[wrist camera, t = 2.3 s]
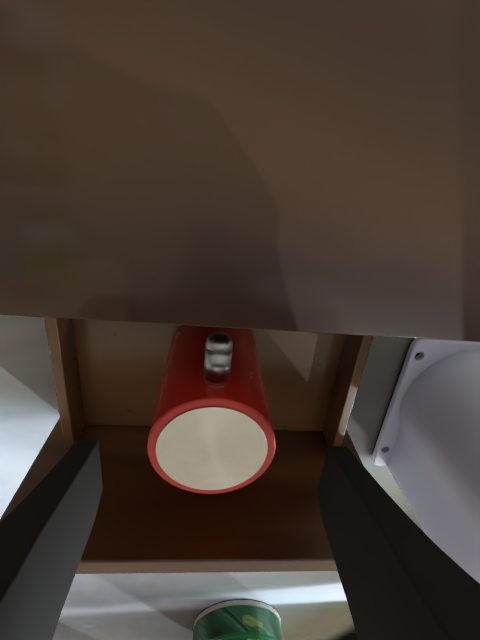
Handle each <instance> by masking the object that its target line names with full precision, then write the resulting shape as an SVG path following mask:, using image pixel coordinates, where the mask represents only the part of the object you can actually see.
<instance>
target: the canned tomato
mask: <svg viewBox="0 0 480 640" xmlns="http://www.w3.org/2000/svg"><path fill="white" fill-rule="evenodd" d="M193 632H194V637H193V640H283V638H282V631H281V619H280V616H279V614H278V612H277V611H276V610H275V609H274V608H272V607H271V606H269V605H267V604H265V603H262V602H258V601H253V600H232V601H226V602H221V603H218V604H215V605H213V606H211V607H209V608H207V609H205V610H204V611H203V612H201V613H200V614H199V615H198V616H197V618H196V619H195V621H194V625H193Z"/></svg>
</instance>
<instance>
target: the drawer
mask: <svg viewBox="0 0 480 640" xmlns="http://www.w3.org/2000/svg"><path fill="white" fill-rule="evenodd" d="M44 318H45V325H46V331H47V337H48V344H49V350H50V357H51V363H52V369H53V376H54V382H55V389H56V395H57V401H58V408H59V414H60V418H59V420H58V421H57V423H56V425H55V427H54V428H53V430H52V432H51V433H50V435H49V437H48V439H47V440H46V442H45V444H44V445H43V447H42V449H41V450H40V452H39V454H38V456H37V457H36V459H35V461H34V462H33V464H32V466H31V468H30V469H29V471H28V473H27V474H26V476H25V478H24V479H23V481H22V483H21V485H20V486H19V488H18V490H17V491H16V493H15V495H14V497H13V498H12V500H11V502H10V503H9V505H8V507H7V508H6V510H5V512H4V514H3V515H2V517H1V519H0V521H1V520H2V519H3V518H4V517H5V516H6V515H7V514H8V513H9V512H10V511H11V510H12V509H14V508H15V506H16V505H17V504H18V503H19V502H20V501H21V500H22V499H23V498H24V497H25V496H26V495H27V494H28V493H29V492H30V491H31V490H32V489H33V488H34V487H35V486H36V485H37V483H38V482H39V481H40V480H41V479H42V478H43V477H44V476H45V475H46V474H47V473H48V472H49V470H50V469H51V468H52V467H53V466H54V465H55V464H56V463H57V461H58V460H59V459H60V458H61V457H62V456H63V455H64V453H65V452H66V451H67V450H68V449H69V448H70V447H71V445H72V444H73V443H74V442H75V441H77V440H98V442H99V453H100V463H101V473H102V483H103V489H102V493H101V497H100V501H99V506H98V509H97V513H96V517H95V521H94V524H93V527H92V530H91V533H90V535H89V538H88V541H87V543H86V546H85V549H84V552H83V554H82V557H81V560H80V562H79V565H78V568H77V570H76V573H75V574H100V573H186V572H273V571H338V570H337V567H336V564H335V561H334V558H333V554H332V551H331V548H330V545H329V542H328V539H327V535H326V532H325V529H324V526H323V522H322V517H321V512H320V508H319V502H318V497H317V492H316V489H317V485H318V482H319V478H320V474H321V471H322V467H323V463H324V460H325V456H326V452H327V449H328V446H347V448H348V449H349V450H350V451H351V452H352V453H353V455H354V456H355V457H356V458H357V459H358V460H359V462H360V463H361V464H362V462H361V460H360V458H359V456H358V453H357V451H356V449H355V447H354V445H353V443H352V441H351V439H350V436H349V434H348V432H347V430H346V428H347V425H348V421H349V418H350V414H351V411H352V407H353V404H354V401H355V397H356V394H357V390H358V387H359V383H360V380H361V377H362V373H363V370H364V366H365V363H366V359H367V356H368V353H369V349H370V346H371V342H372V339H373V336H366V335H349V334H331V333H314V332H296V331H279V330H261V329H248V330H249V331H250V332H251V334H252V336H253V338H254V340H255V344H256V348H257V353H258V357H259V362H260V367H261V372H262V376H263V381H264V386H265V391H266V395H267V400H268V405H269V410H270V414H271V419H272V424H273V429H274V434H275V439H276V448H275V453H274V457H273V459H272V461H271V463H270V465H269V467H268V468H267V469H266V471H265V472H264V473H263V474H262V475H261V476H260V477H259V478H257V479H256V480H255V481H253V482H252V483H250V484H248V485H246V486H244V487H242V488H239V489H237V490H233V491H230V492H225V493H218V494H201V493H194V492H190V491H186V490H183V489H180V488H178V487H176V486H174V485H172V484H170V483H168V482H167V481H166V480H164V479H163V478H162V477H161V476H160V475H159V474H158V473H157V472H156V471H155V469H154V468H153V466H152V464H151V462H150V460H149V456H148V452H147V441H148V437H149V432H150V428H151V424H152V419H153V415H154V411H155V407H156V402H157V398H158V394H159V390H160V385H161V381H162V377H163V373H164V368H165V364H166V360H167V356H168V351H169V347H170V343H171V340H172V337H173V336H174V334H175V332H176V331H177V330H178V328H179V327H180V326H182V325H174V324H156V323H139V322H121V321H104V320H86V319H69V318H52V317H44ZM362 465H363V464H362Z"/></svg>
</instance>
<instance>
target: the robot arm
mask: <svg viewBox="0 0 480 640" xmlns="http://www.w3.org/2000/svg"><path fill="white" fill-rule="evenodd" d="M417 353H420V354H419V355H418V356H416V357H415V355H416V354H417ZM383 447H384V448H383ZM372 461H373V463H374V464H375V465H377V466H388V468H389V469H390V471H391V473H392V475H393V477H394V478H395V480H396V482H397V484H398V486H399V488H400V489H401V491H402V493H403V495H404V497H405V498H406V500H407V502H408V504H409V506H410V508H411V509H412V511H413V513H414V515H415V517H416V518H417V520H418V522H419V524H420V526H421V528H422V529H423V531H424V532H423V531H422V530H421V529H420V528H419V527H418V526H417V525H416V524H415V523H414V522H413V521H412V520H411V519H410V518H409V517H408V516H407V515H406V514H405V513H404V512H403V510H402V509H401V508H400V507H399V506H398V505H397V504H396V503H395V502H394V501H393V499H392V498H391V497H390V496H389V495H388V494H387V493H386V492H385V491H384V489H383V488H382V487H381V486H380V485H379V484H378V483H377V481H376V480H375V479H374V478H373V477H372V476H371V474H370V473H369V472H368V471H367V470H366V469H365V467H364V466H363V465H362V464H361V463H360V462H359V460H358V459H357V458H356V457H355V456H354V455H353V453H352V452H351V451H350V450H349V449H348V448H347V446H328V449H327V452H326V456H325V460H324V463H323V467H322V471H321V474H320V478H319V482H318V485H317V489H316V492H317V497H318V502H319V508H320V512H321V517H322V522H323V526H324V529H325V532H326V535H327V539H328V542H329V545H330V548H331V551H332V554H333V558H334V561H335V564H336V567H337V570H338V573H339V576H340V579H341V583H342V586H343V589H344V592H345V595H346V598H347V601H348V605H349V608H350V612H351V615H352V619H353V622H354V626H355V631H356V635H357V639H358V640H480V342H471V341H454V340H436V339H419V338H417V339H415V340H414V341H413V342H412V343H411V345H410V348H409V351H408V354H407V356H406V359H405V362H404V365H403V368H402V371H401V374H400V377H399V379H398V382H397V385H396V388H395V391H394V394H393V397H392V400H391V403H390V405H389V408H388V411H387V414H386V417H385V420H384V423H383V426H382V428H381V431H380V434H379V437H378V440H377V443H376V446H375V449H374V452H373V454H372ZM102 489H103V483H102V473H101V463H100V453H99V442H98V440H77V441H75V442H74V443H73V444H72V445H71V447H70V448H69V449H68V450H67V451H66V452H65V453H64V455H63V456H62V457H61V458H60V459H59V460H58V461H57V463H56V464H55V465H54V466H53V467H52V468H51V469H50V470H49V472H48V473H47V474H46V475H45V476H44V477H43V478H42V479H41V480H40V481H39V482H38V483H37V485H36V486H35V487H34V488H33V489H32V490H31V491H30V492H29V493H28V494H27V495H26V496H25V497H24V498H23V499H22V500H21V501H20V502H19V503H18V504H17V505H16V506H15V508H14V509H12V510H11V511H10V512H9V513H8V514H7V515H6V516H5V517H4V518H3V519H2V520H1V521H0V640H52V639H53V636H54V632H55V629H56V626H57V623H58V620H59V617H60V614H61V611H62V608H63V605H64V603H65V600H66V597H67V595H68V592H69V589H70V587H71V584H72V581H73V579H74V576H75V573H76V570H77V568H78V565H79V562H80V560H81V557H82V554H83V552H84V549H85V546H86V543H87V541H88V538H89V535H90V533H91V530H92V527H93V524H94V521H95V517H96V513H97V509H98V506H99V501H100V497H101V493H102Z"/></svg>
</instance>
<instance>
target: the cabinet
mask: <svg viewBox="0 0 480 640" xmlns="http://www.w3.org/2000/svg"><path fill="white" fill-rule="evenodd" d="M0 315H17V316H34V317H52V318H69V319H86V320H104V321H121V322H139V323H156V324H174V325H191V326H209V327H226V328H244V329H261V330H279V331H296V332H314V333H331V334H349V335H366V336H384V337H401V338H419V339H436V340H454V341H471V342H480V0H0Z"/></svg>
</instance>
